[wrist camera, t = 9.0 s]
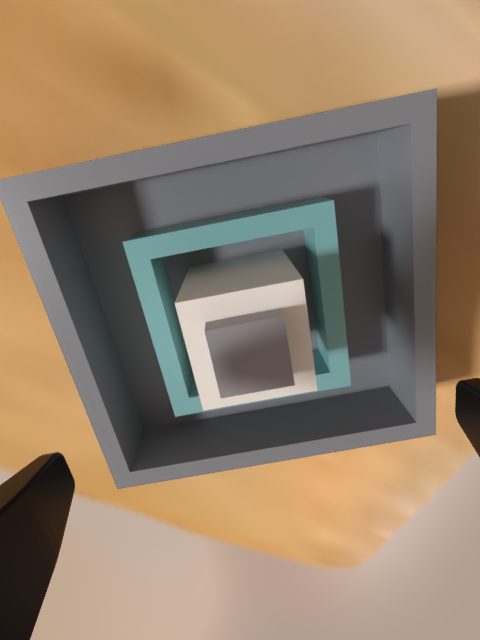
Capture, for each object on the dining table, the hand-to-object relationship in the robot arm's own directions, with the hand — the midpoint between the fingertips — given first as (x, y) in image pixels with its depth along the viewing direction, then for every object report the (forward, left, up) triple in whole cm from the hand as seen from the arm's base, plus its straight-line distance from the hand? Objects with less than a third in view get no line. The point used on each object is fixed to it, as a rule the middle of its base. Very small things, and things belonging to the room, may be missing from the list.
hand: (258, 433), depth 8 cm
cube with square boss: (0, 0, -9) cm, 9 cm away
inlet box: (0, 0, -10) cm, 10 cm away
